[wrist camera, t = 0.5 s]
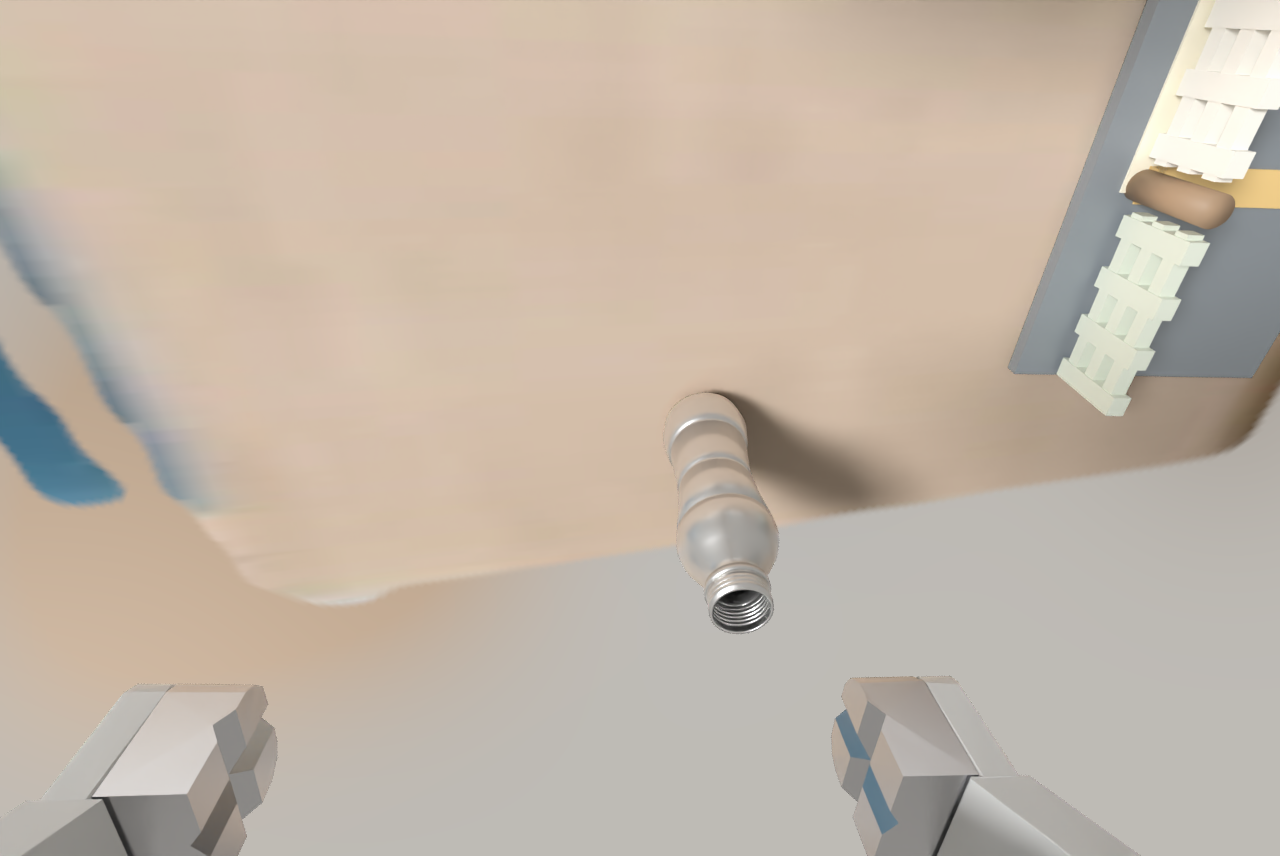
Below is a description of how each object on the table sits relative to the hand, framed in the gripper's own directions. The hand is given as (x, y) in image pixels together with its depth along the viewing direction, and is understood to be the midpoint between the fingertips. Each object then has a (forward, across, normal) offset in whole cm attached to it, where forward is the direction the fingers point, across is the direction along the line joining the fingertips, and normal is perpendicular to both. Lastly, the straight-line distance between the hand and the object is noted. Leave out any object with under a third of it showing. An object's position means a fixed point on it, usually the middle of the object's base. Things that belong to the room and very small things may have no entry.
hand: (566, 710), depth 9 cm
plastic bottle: (+41, -10, +14) cm, 45 cm away
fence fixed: (+36, -36, -11) cm, 52 cm away
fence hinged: (+37, -36, +3) cm, 52 cm away
